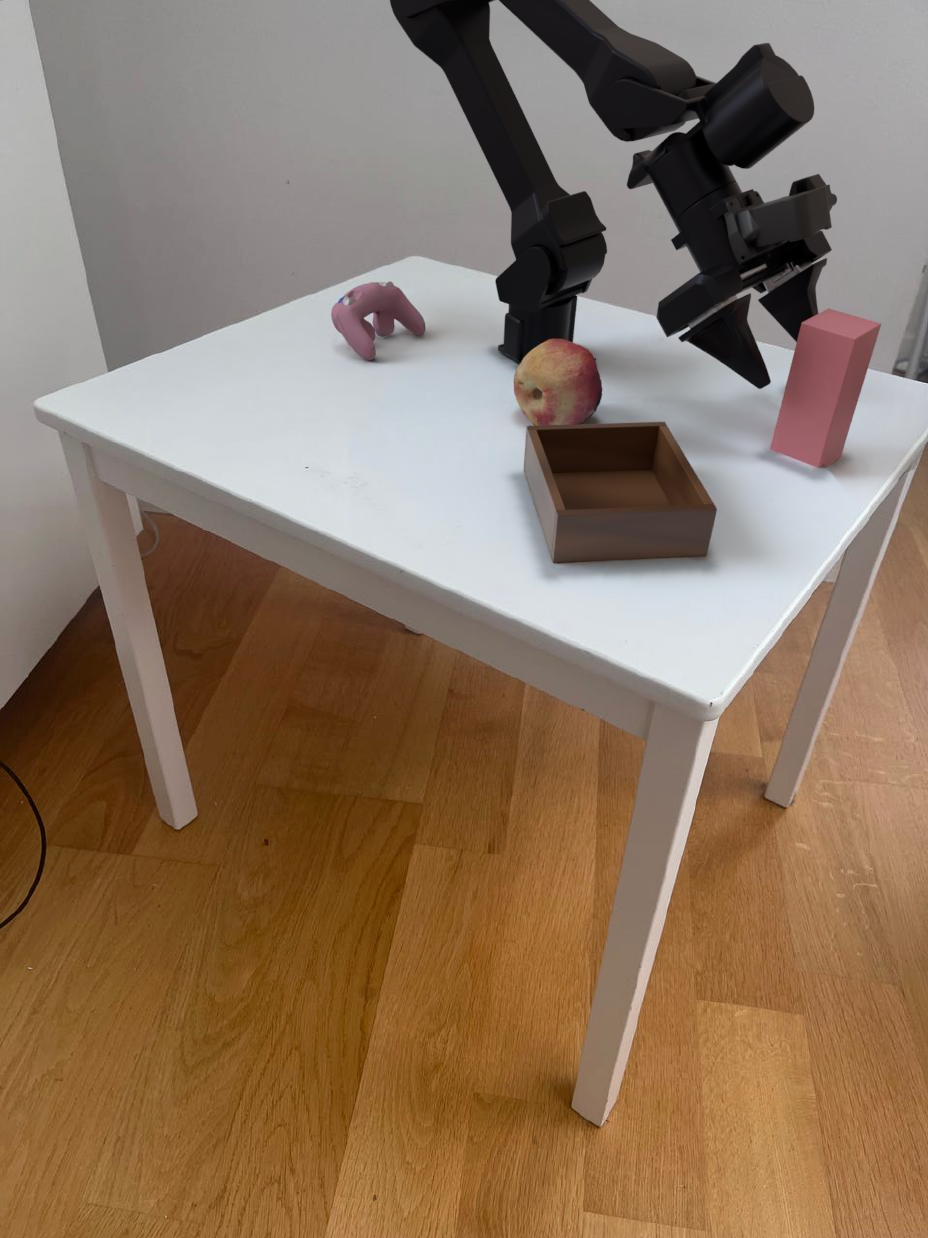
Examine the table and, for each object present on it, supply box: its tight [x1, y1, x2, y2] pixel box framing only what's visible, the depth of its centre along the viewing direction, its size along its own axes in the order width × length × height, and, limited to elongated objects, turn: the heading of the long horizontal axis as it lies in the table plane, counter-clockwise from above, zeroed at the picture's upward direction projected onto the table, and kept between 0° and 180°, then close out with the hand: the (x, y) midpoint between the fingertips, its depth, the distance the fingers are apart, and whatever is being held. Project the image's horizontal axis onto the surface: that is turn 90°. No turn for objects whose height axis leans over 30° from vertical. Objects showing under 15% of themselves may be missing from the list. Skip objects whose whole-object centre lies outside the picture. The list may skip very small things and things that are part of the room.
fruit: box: [513, 339, 603, 426], centre depth 83 cm, size 8×8×8 cm
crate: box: [522, 421, 718, 564], centre depth 72 cm, size 13×11×5 cm
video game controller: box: [330, 281, 427, 361], centre depth 98 cm, size 10×5×7 cm, turn 144°
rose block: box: [769, 308, 882, 469], centre depth 79 cm, size 5×5×12 cm
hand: (793, 370), depth 79 cm, fingers open, 9 cm apart
